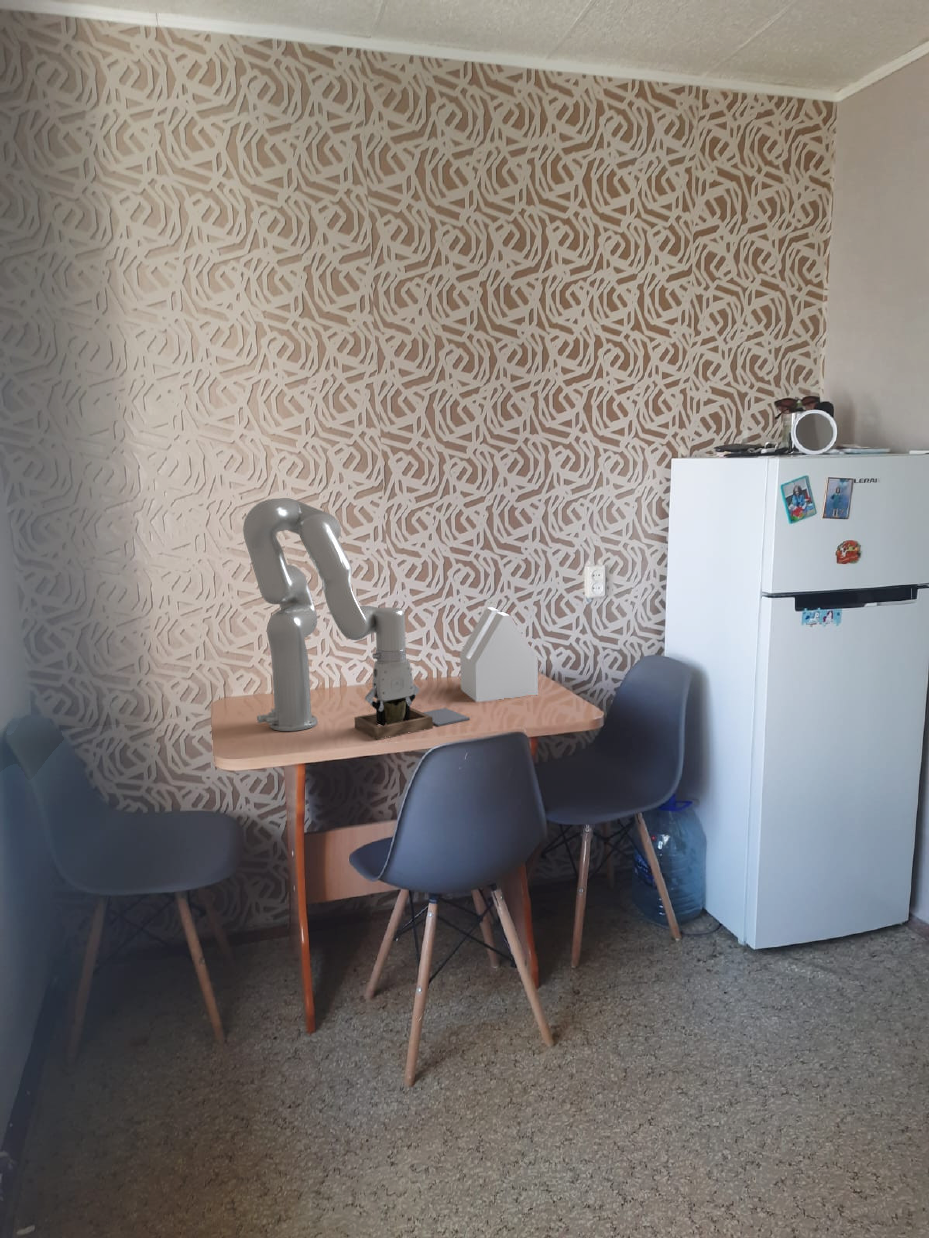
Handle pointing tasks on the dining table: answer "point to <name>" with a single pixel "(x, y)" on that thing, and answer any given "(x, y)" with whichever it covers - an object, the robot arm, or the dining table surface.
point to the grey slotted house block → (497, 660)
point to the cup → (394, 711)
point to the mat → (445, 717)
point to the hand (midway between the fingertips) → (393, 721)
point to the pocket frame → (393, 725)
